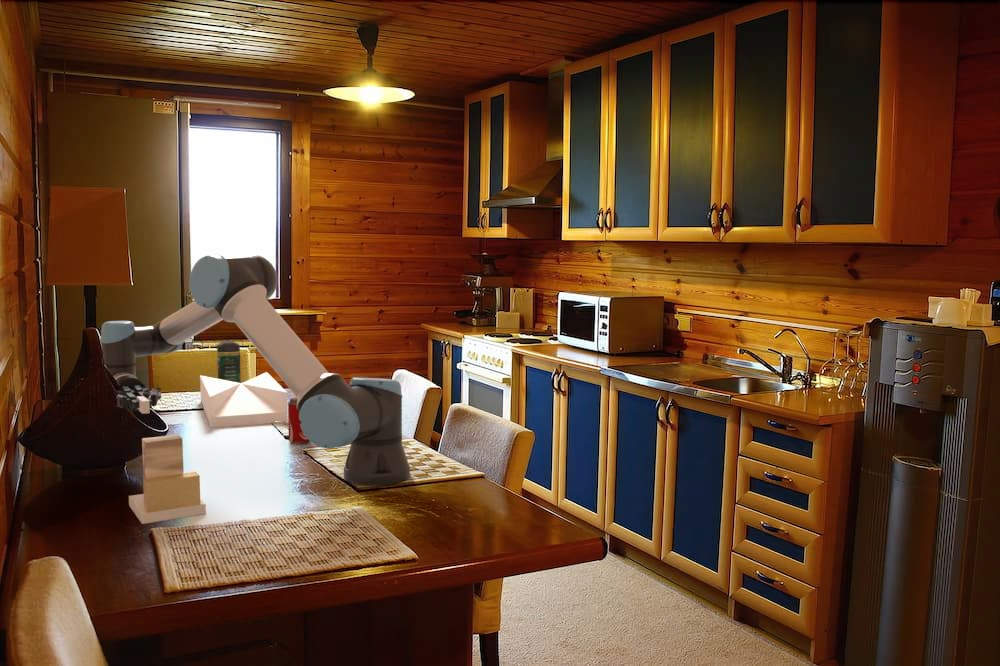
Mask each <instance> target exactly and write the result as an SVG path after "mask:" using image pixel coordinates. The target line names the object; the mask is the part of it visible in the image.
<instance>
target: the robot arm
mask: <svg viewBox="0 0 1000 666" xmlns="http://www.w3.org/2000/svg"><path fill="white" fill-rule="evenodd" d="M277 287H278V274H277V271H276V269H275V266H274V265H273V264H272V263H271V262H270V261H269V260H268V259H266V258H265V257H263V256H261V255H260V254H259V255H258V254H255V253H253V254H252V253H246V254H242V253H241V254H239V253H238V254H225V253H224V254H220V253H215V254H211V255H210V254H209V255H206V256H202V257H200V258H199V259H198V260H197V261H196V263H195V264H194V265H193V266H192V269H191V271H190V275H189V292H190V294H191V297H192V299H193V300H194V301H192V302H190V303H189V304H187V305H186V306H184V307H182V308H180V309H179V310H177V311H175V312H173V313H171V314H170V315H169V316H167V317H165V318H163V319H162V320H160V321H158V322H157V323H155V324H153V325H146V326H135V323H134V322H133V321H130V320H110V321H105V322H104V323H102V324H101V333H100V342H101V351H102V350H103V358H104V363H105V365H106V367H107V369H108V370H109V372H110V373H111V375H112V376H113V377H114V378H115V380H116V381H117V382H118V383H119V384H120V385H119V384H118V383H117V392H118V395H117V396H116V399H117V406H116V407H117V408H120V409H130V412H138V411H139V412H140V413H141V414H151V413H150V411H151V410H150V409H151V408H152V407H156V406H157V405H158V401H159V400H160V399H162V388H161V387H155V388H151V389H150V388H148V387H146V385H145V383H143V381H141V379H140V378H138V377H137V376H136V375H137V374H136V365H137V364H136V359H137V358H139V357H147V356H154V355H162V354H163V355H165V354H171V353H173V352H177V351H179V350H180V349H181V348H182V347H183V345H184V343H185V342H186V341H188V340H190V339H191V338H193V337H195V336H197V335H199V334H200V333H202V332H204V331H206V330H207V329H210V328H211V327H213V326H215V325H216V324H218V323H219V322H221V321H224V322H227V323H234V324H235V325H236V327H238V328H239V329H240V331H241V332H242V333H243V334H244V335H245V337H246V338H247V339H248V340H249V342H250V343H252V345H253V346H254V347H255V349H256V350H257V351H258V352H259V354H260V355H261V356H262V357H263V358H264V359H265V361H266V362H267V364H268V365H269V366H270V367H271V368H272V369H273V370H274V372H276V374H277V375H278V376H279V378H280V379H281V381H283V382H284V384H285V385H286V386H287V387H288V388H289V390H290V391H291V392H292V393H293V394H294V395H295V398H298V401H297V409H298V411H299V412H300V414H299V420H300V421H301V424H300V426H301V429H302V431H303V433H304V435H305V436H306V437H307V439H308V440H310V442H311V443H312V444H313V445H315V446H317V447H319V448H321V449H322V448H323V449H335V448H342V447H345V446H348V445H350V447H349V451H348V454H347V458H346V461H345V464H344V467H343V479H344V481H346V482H347V481H348V482H347V483H350V482H353V483H352V484H354V483H357V484H356V485H359V484H363V486H385V485H386V486H387V485H392V484H397V483H401V482H404V481H406V480H408V479H409V478H410V477H411V467H410V464H409V461H408V456H407V454H406V451H405V447H404V445H403V418H402V417H403V408H402V407H403V405H402V404H403V403H402V402H403V401H402V400H403V394H402V385H401V383H400V381H399V380H397V379H392V378H379V377H352V378H351V379H350V381H349V384H348V383H347V381H345V380H344V378H343V377H342V376H341V375H340V374H339V373H333V372H331V373H330V372H329V371H328V370H327V369H326V367H324V365H323V364H322V363H321V362H320V361H319V359H318V358H317V357H316V356H315V355H314V353H312V352H311V350H310V349H309V348H308V347H307V346H306V344H305V343H304V342H303V341H302V340H301V339H300V337H299V336H298V335H297V334H296V332H295V331H294V330H293V329H292V328H291V327H290V326H289V324H288V323H287V322H286V321H285V320H284V318H283V317H282V316H281V315H280V314H279V313H278V311H277V310H276V309H275V308H274V307H273V305H272V304H271V303H270V302H269V299H270V298H271V297H272V296H273V295H274V293H275V291H276V289H277ZM103 358H102V359H103ZM127 406H129V408H127Z"/></svg>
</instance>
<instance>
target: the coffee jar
mask: <svg viewBox="0 0 1000 666" xmlns="http://www.w3.org/2000/svg"><path fill="white" fill-rule="evenodd" d="M240 347H241V346H240V344H239V343H237V342H236V341H233V340H223V341H220V342H219V343H218V344H217V345H216V357H217V358H216V359H217V360H216V361H217V379H222V380H227V381H232V382H237V383H242V381H241V380H242V379H241V348H240Z"/></svg>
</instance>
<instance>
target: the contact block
mask: <svg viewBox="0 0 1000 666" xmlns="http://www.w3.org/2000/svg"><path fill="white" fill-rule="evenodd" d="M200 479H201V478H200V474H199V473H198V472H196V471H192V472H186V473H185V472H184V474H176V475H169V476H162V477H154V478H147V479H144V478H143V479H142V488H143V494H144V509H145V511H146V512H147V513H151V512H157V511H163V510H170V509H176V508H183V507H189V506H196V505H201V503H200V499H201V482H200V481H201V480H200Z"/></svg>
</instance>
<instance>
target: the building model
mask: <svg viewBox="0 0 1000 666" xmlns="http://www.w3.org/2000/svg"><path fill="white" fill-rule="evenodd" d="M199 383H200V386H199V388H200V402H201V401H202V403H201V405H202V404H203V406H202V408H203V407H204V408H203V411H204V413H205V415H206V418H207V420H208V423H209V426H210V428H220V427H221V426H224V427H232V426H231V425H237V426H246V425H247V426H248V425H249V426H250V425H261V424H273V423H272V422H275V421H288V392H287V391H286V390H285V389H284V388H283V387H282V386H281V384H280V383H278V382H277V380H276V379H274V378H273V377H272V375H271V374H270V373H268V372H267V371H266V372H264V373H261V374H260V375H257V376H255V377H253V378H250V379H248V380H246V381H244V382H241V383H237V382H232V381H227V380H222V379H218V377H217V378H215V377H210V376H206V375H199Z"/></svg>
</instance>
